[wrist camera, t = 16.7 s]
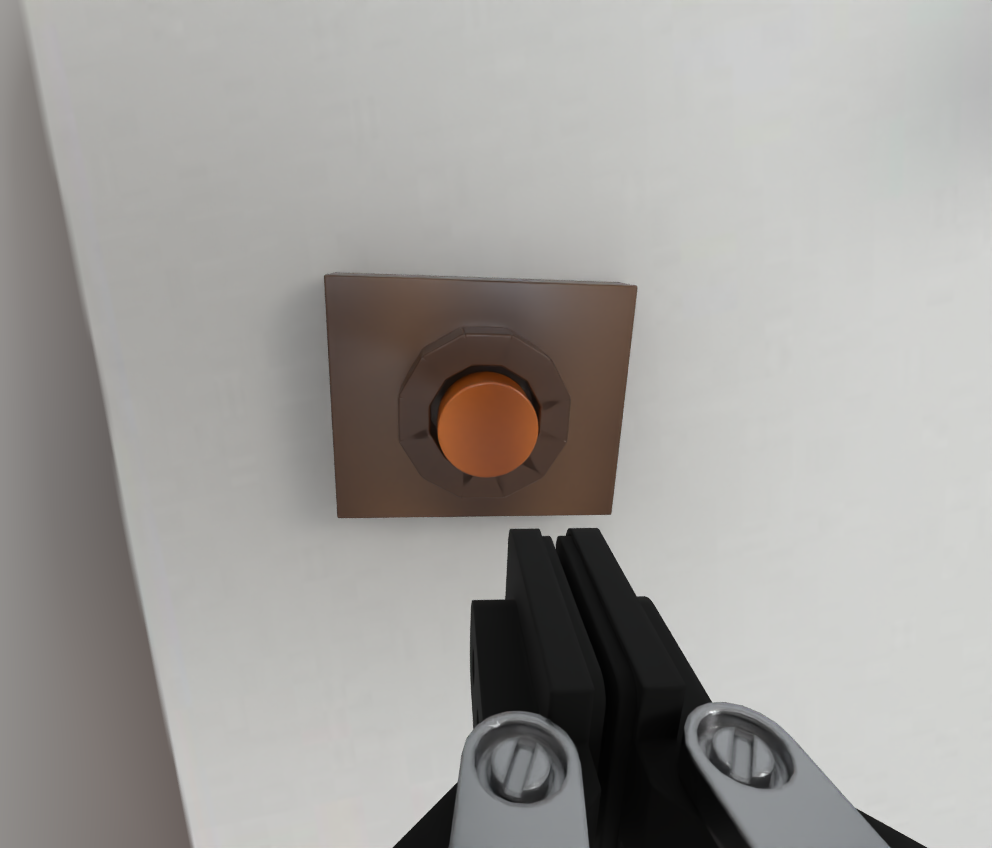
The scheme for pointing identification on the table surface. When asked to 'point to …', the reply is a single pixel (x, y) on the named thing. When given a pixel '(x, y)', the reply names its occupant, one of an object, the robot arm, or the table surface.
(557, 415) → the control block
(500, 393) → the button
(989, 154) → the table surface
